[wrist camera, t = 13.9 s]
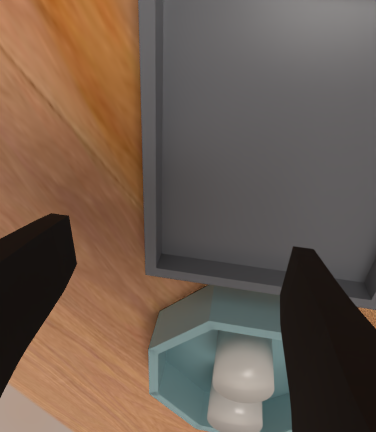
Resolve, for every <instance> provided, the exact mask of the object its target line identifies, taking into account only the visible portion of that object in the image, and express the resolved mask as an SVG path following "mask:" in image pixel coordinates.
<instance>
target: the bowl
mask: <svg viewBox="0 0 376 432" xmlns="http://www.w3.org/2000/svg"><path fill="white" fill-rule="evenodd" d="M218 330H221V331H227V332H233V333H239V334H245V335H251V336H257V337H263V338H269V339H272V350H273V370H274V392H273V394H272V396H271V397H270V398H268V399H267V400H264V401H262V418H263V426H262V429H261V430H260V431H259V432H292V420H291V404H290V394H289V387H288V379H287V372H286V365H285V357H284V350H283V343H282V335H281V327H280V295H275V294H269V293H262V292H255V291H249V290H242V289H236V288H229V287H222V286H216V285H208V286H206V287H204V288H202V289H200V290H198V291H197V292H195V293H193V294H191V295H189V296H187V297H185V298H184V299H182V300H180V301H178V302H176V303H174V304H172V305H171V306H169V307H167V308H165V309H163V310H161V311H160V312H159V315H158V319H157V322H156V325H155V329H154V332H153V335H152V339H151V342H150V345H149V348H148V356H149V394H150V395H152V396H153V397H154V398H156V399H157V400H158V401H160V402H161V403H162V404H164V405H165V406H166V407H168V408H169V409H170V410H172V411H173V412H174V413H176V414H177V415H178V416H180V417H181V418H182V419H184V420H185V421H186V422H188V423H189V424H190V425H192V426H193V427H194V428H196V429H199V430H204V431H209V432H220V431H218V430H216V429H214V428H213V427H212V426H211V425H210V424H209V422H208V420H207V414H208V405H209V397H210V388H211V380H212V371H213V365H214V362H215V353H216V344H217V335H218Z"/></svg>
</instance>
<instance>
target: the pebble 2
mask: <svg viewBox="0 0 376 432" xmlns="http://www.w3.org/2000/svg"><path fill="white" fill-rule="evenodd" d="M213 371H214V365H213ZM213 371H212V380H211V388H210V397H209V405H208V414H207V420H208V422H209V424H210V425H211V426H212V427H213V428H214V429H216V430H218V431H220V432H259V431H260V430H261V429H262V426H263V418H262V402H258V403H239V402H235V401H232V400H229V399H227V398H225V397H223V396H221V395H220V394H219V393H218V392H217V391H216V390H215V389H214V387H213V383H212V381H213Z"/></svg>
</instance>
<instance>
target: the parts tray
mask: <svg viewBox="0 0 376 432" xmlns="http://www.w3.org/2000/svg"><path fill="white" fill-rule="evenodd" d="M138 5H139V43H140V81H141V120H142V158H143V196H144V235H145V273H146V275H150V276H157V277H163V278H170V279H176V280H183V281H190V282H196V283H203V284H209V285H216V286H222V287H229V288H236V289H242V290H249V291H255V292H262V293H269V294H275V295H280V292H281V289H282V285H283V281H284V278H285V274H286V270H287V267H288V263H289V259H290V256H291V252H292V248H293V246H295V247H302V248H310V249H314V250H315V251H316V253H317V254H318V256H319V257H320V258H321V260H322V261H323V263H324V264H325V265H326V267H327V268H328V270H329V271H330V272H331V274H332V275H333V277H334V278H335V279H336V281H337V282H338V283H339V285H340V286H341V287H342V289H343V290H344V291H345V293H346V294H347V295H348V297H349V298H350V299H351V300H352V302H353V303H354V304H355V305H356V307H361V308H367V309H374V310H376V0H138Z"/></svg>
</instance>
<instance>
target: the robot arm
mask: <svg viewBox="0 0 376 432" xmlns="http://www.w3.org/2000/svg"><path fill="white" fill-rule="evenodd" d="M76 265H77V261H76V255H75V249H74V243H73V238H72V232H71V226H70V220H69V216H67V215H59V214H52V213H51V214H49V215H47V216H44V217H42V218H40V219H38V220H36V221H34V222H32V223H30V224H28V225H26V226H24V227H22V228H20V229H18V230H17V231H15V232H13V233H11V234H9V235H7V236H5V237H3V238H1V239H0V397H1V395H2V393H3V391H4V389H5V387H6V385H7V384H8V382H9V380H10V378H11V376H12V374H13V372H14V370H15V368H16V366H17V364H18V362H19V361H20V359H21V357H22V355H23V354H24V352H25V350H26V349H27V347H28V346H29V344H30V343H31V341H32V339H33V338H34V336H35V335H36V333H37V332H38V330H39V329H40V327H41V326H42V324H43V323H44V321H45V320H46V318H47V317H48V315H49V314H50V312H51V310H52V309H53V307H54V306H55V304H56V303H57V301H58V300H59V298H60V296H61V295H62V293H63V292H64V290H65V288H66V286H67V284H68V282H69V280H70V278H71V276H72V274H73V271H74V269H75V267H76ZM280 327H281V335H282V343H283V350H284V357H285V365H286V372H287V379H288V387H289V394H290V404H291V420H292V432H376V329H375V328H374V326H373V325H372V324H371V323H370V322H369V321H368V320H367V318H366V317H365V316H364V315H363V314H362V313H361V312H360V310H359V309H358V308H357V307H356V305H355V304H354V303H353V302H352V300H351V299H350V298H349V297H348V295H347V294H346V293H345V291H344V290H343V289H342V287H341V286H340V285H339V283H338V282H337V281H336V279H335V278H334V277H333V275H332V274H331V272H330V271H329V270H328V268H327V267H326V265H325V264H324V263H323V261H322V260H321V258H320V257H319V256H318V254H317V253H316V251H315V250H314V249H310V248H302V247H295V246H293V248H292V252H291V256H290V259H289V263H288V267H287V270H286V274H285V278H284V281H283V285H282V289H281V292H280Z"/></svg>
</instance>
